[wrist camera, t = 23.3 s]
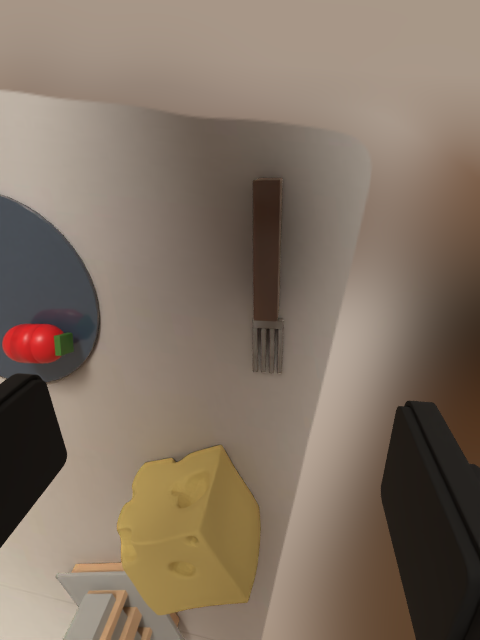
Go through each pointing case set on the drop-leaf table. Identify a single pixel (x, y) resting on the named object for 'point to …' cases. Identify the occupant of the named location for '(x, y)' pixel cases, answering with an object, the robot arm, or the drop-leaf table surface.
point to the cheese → (190, 533)
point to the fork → (267, 268)
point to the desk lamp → (112, 607)
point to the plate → (43, 289)
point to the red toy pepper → (37, 343)
